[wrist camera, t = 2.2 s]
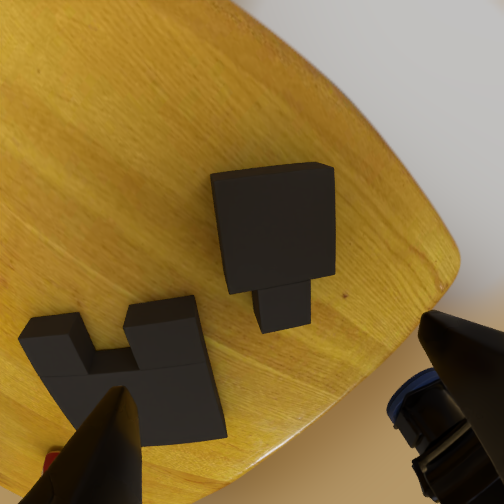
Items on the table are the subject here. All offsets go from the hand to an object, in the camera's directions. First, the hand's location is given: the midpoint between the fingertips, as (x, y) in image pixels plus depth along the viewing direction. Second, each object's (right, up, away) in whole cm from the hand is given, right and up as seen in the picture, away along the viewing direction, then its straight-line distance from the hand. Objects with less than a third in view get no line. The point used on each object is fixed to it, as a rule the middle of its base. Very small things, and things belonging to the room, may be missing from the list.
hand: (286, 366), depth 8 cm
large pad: (-10, -6, +12) cm, 17 cm away
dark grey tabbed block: (0, +4, +10) cm, 11 cm away
